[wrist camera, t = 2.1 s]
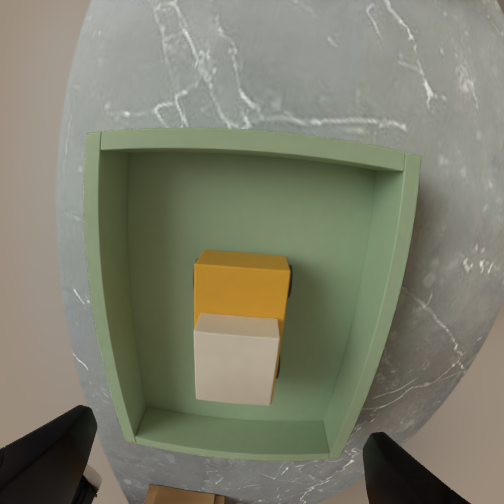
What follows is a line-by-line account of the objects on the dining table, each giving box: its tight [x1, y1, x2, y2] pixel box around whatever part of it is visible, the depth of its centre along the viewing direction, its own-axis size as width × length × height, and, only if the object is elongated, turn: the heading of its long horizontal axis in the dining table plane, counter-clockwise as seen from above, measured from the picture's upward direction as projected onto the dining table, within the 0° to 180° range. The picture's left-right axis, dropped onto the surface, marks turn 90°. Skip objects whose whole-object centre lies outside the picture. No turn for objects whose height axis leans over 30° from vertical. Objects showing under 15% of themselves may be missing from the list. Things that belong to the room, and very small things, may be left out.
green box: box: [84, 128, 421, 461], centre depth 14 cm, size 14×18×4 cm
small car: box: [193, 250, 293, 406], centre depth 13 cm, size 7×4×4 cm, turn 176°
